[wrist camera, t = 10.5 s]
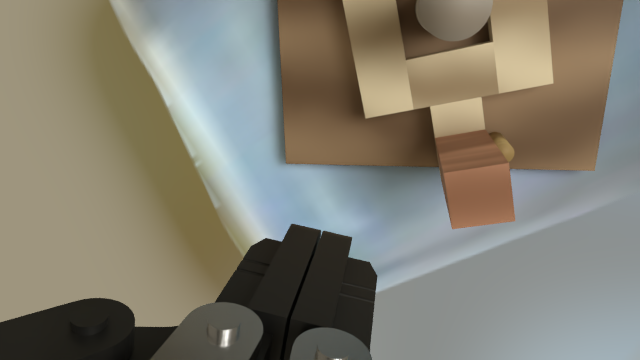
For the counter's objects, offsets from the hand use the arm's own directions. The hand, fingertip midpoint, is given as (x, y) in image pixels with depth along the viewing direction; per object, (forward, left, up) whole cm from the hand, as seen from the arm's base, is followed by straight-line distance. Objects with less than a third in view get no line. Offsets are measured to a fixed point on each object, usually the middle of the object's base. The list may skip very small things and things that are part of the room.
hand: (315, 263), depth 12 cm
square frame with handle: (-4, +5, -21) cm, 21 cm away
